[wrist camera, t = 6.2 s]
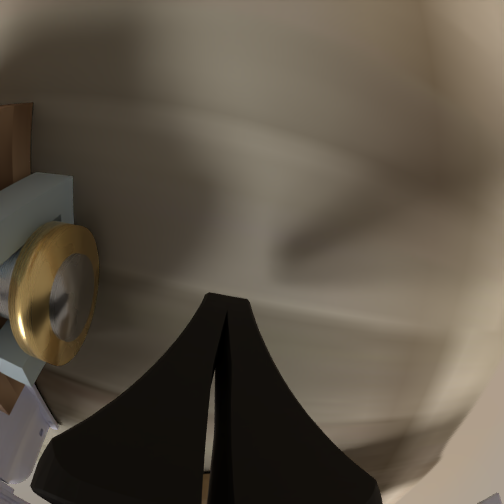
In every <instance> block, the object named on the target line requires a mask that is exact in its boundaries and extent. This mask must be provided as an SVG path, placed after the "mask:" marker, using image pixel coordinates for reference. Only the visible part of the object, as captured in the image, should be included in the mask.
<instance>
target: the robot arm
mask: <svg viewBox="0 0 504 504" xmlns="http://www.w3.org/2000/svg"><path fill="white" fill-rule="evenodd" d="M214 371H215V425H214V441H213V450H212V460H211V469H210V479H209V488H208V497H207V504H382V498H381V494H380V491H379V488H378V485H377V482H376V480H375V479H374V478H373V477H372V476H370V475H369V474H368V473H367V472H365V471H364V470H363V469H362V468H360V467H359V466H358V465H357V464H355V463H354V462H353V461H352V460H351V459H349V458H348V457H347V456H346V455H345V454H344V453H343V452H342V451H341V450H340V449H339V448H338V447H337V446H336V445H335V444H334V443H333V442H332V441H331V440H330V439H329V438H328V437H327V436H326V435H325V434H324V432H323V431H322V430H321V429H320V428H319V427H318V426H317V425H316V423H315V422H314V421H313V420H312V419H311V418H310V416H309V415H308V414H307V413H306V411H305V410H304V409H303V407H302V406H301V405H300V403H299V402H298V401H297V399H296V398H295V396H294V395H293V393H292V392H291V390H290V389H289V387H288V386H287V384H286V383H285V381H284V379H283V378H282V376H281V374H280V372H279V371H278V369H277V367H276V365H275V363H274V362H273V360H272V358H271V356H270V354H269V352H268V349H267V347H266V345H265V343H264V341H263V339H262V336H261V334H260V331H259V329H258V326H257V324H256V321H255V318H254V315H253V312H252V309H251V305H250V302H249V301H248V299H243V298H237V297H232V296H226V295H221V294H215V293H210V292H209V293H207V294H205V296H204V299H203V301H202V303H201V305H200V307H199V308H198V310H197V312H196V313H195V315H194V316H193V318H192V319H191V321H190V322H189V324H188V325H187V326H186V328H185V329H184V331H183V332H182V333H181V335H180V336H179V337H178V338H177V340H176V341H175V342H174V343H173V344H172V345H171V347H170V348H169V349H168V350H167V351H166V353H165V354H164V355H163V356H162V357H161V358H160V359H159V360H158V361H157V362H156V363H155V364H154V365H153V366H152V367H151V368H150V369H149V370H148V371H147V372H146V373H145V374H144V375H143V376H142V377H141V378H140V379H139V380H137V381H136V382H135V383H134V384H133V385H132V386H131V387H129V388H128V389H127V390H126V391H125V392H123V393H122V394H121V395H120V396H118V397H117V398H116V399H114V400H113V401H112V402H110V403H109V404H107V405H106V406H105V407H103V408H102V409H100V410H99V411H98V412H96V413H95V414H93V415H92V416H90V417H89V418H87V419H86V420H84V421H82V422H80V423H79V424H77V425H75V426H73V427H72V428H70V429H68V430H66V431H65V432H63V433H61V434H59V435H57V436H55V437H54V438H52V439H51V441H50V442H49V444H48V445H47V447H46V449H45V450H44V452H43V454H42V456H41V458H40V459H39V462H38V464H37V467H36V470H35V473H34V476H33V479H32V482H31V485H30V486H31V488H32V490H33V492H35V493H36V494H37V495H39V496H40V497H42V498H43V499H45V500H46V501H48V502H50V503H51V504H202V486H203V470H204V455H205V442H206V430H207V419H208V408H209V398H210V388H211V384H212V379H213V375H214ZM49 427H51V428H53V429H56V430H57V429H58V427H59V426H58V424H57V423H56V421H55V419H54V418H53V416H52V414H51V413H50V411H49V409H48V408H47V406H46V404H45V402H44V401H43V399H42V397H41V395H40V393H39V392H38V390H37V388H36V386H35V384H34V385H33V387H29V386H27V385H25V386H24V388H23V390H22V392H21V394H20V396H19V398H18V399H17V401H16V403H15V405H14V407H13V409H12V411H11V413H10V415H7V414H5V413H4V412H2V411H0V504H30V503H28V502H26V501H24V500H22V499H21V498H19V497H17V496H16V495H14V494H13V492H14V489H13V488H11V487H10V486H8V485H7V484H9V483H11V484H12V483H13V484H17V483H21V482H23V481H24V480H26V479H27V478H28V477H29V476H30V474H31V473H32V471H33V468H34V465H35V463H36V460H37V457H38V455H39V452H40V449H41V447H42V444H43V442H44V439H45V437H46V434H47V432H48V429H49ZM2 481H4V482H5V483H7V484H5V483H4V482H2ZM477 504H502V503H501V499H500V496H499V493H495V494H493V495H492V496H490V497H488V498H487V499H485V500H483V501H481V502H479V503H477Z"/></svg>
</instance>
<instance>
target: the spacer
mask: <svg viewBox="0 0 504 504" xmlns="http://www.w3.org/2000/svg"><path fill="white" fill-rule="evenodd" d="M51 221H59V222H64V223H69V224H74V214H73V176H67V175H59V174H50V173H41V172H35V173H33V174H31V175H29V176H27V177H25V178H23V179H21V180H19V181H17V182H16V183H14V184H12V185H10V186H8V187H6V188H4V189H3V190H1V191H0V265H2V264H3V263H4V262H5V261H6V260H7V259H8V258H9V257H10V256H11V255H12V254H14V253H15V252H16V251H17V250H18V249H19V248H20V247H21V246H23V245H24V244H25V243H26V241H27V240H28V238H29V237H30V236H31V235H32V233H33V232H34V231H36V230H37V229H38V228H39V227H40V226H42V225H43V224H45V223H48V222H51ZM45 363H46V362H44V361H42V360H39V359H37V358H35V357H32V356H30V355H28V354H26V353H25V352H24V351H23V350H22V349H21V348H20V347H19V345H18V344H17V342H16V340H15V338H14V335H13V332H12V329H11V325H10V320H7V321H6V323H5V324H4V325H3V327H2V328H1V329H0V372H1V373H3V374H5V375H7V376H9V377H11V378H13V379H15V380H17V381H19V382H21V383H23V384H25V385H27V386H29V387H33V385H34V383H35V381H36V379H37V377H38V376H39V374H40V372H41V370H42V368H43V367H44V365H45Z"/></svg>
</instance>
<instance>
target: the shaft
mask: <svg viewBox="0 0 504 504" xmlns="http://www.w3.org/2000/svg"><path fill="white" fill-rule="evenodd" d="M98 283H99V258H98V250H97V246H96V242H95V239H94V237H93V235H92V233H91V232H90V231H89V230H88V229H87V228H86V227H83V226H79V225H74V224H69V223H64V222H59V221H51V222H48V223H45V224H43V225H42V226H40V227H39V228H38V229H37V230H36V231H34V232H33V233H32V235H31V236H30V237H29V238H28V240H27V241H26V243H25V244H24V245H23V246H21V247H20V248H19V249H18V250H17V251H16V252H15V253H14V254H12V255H11V256H10V257H9V258H8V259H7V260H6V261H5V262H4V263H3V264H2V265H0V316H1V317H4V318H6V319H8V320H10V325H11V329H12V332H13V335H14V338H15V340H16V342H17V344H18V345H19V347H20V348H21V349H22V350H23V351H24V352H25V353H26V354H28V355H30V356H32V357H35V358H37V359H39V360H42V361H44V362H47V363H49V364H52V365H55V366H61V365H64V364H66V363H68V362H69V361H70V360H72V358H73V357H74V356H75V355H76V354H77V352H78V351H79V349H80V348H81V346H82V344H83V342H84V340H85V337H86V335H87V333H88V330H89V327H90V324H91V321H92V317H93V313H94V309H95V304H96V299H97V292H98Z"/></svg>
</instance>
